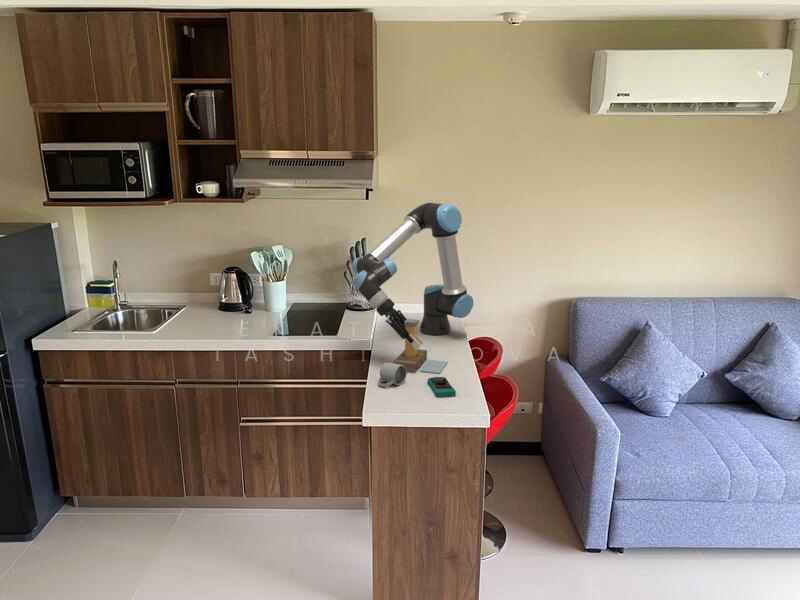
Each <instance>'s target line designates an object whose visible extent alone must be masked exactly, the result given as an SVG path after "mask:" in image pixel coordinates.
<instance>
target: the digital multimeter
mask: <svg viewBox="0 0 800 600" xmlns="http://www.w3.org/2000/svg"><path fill="white" fill-rule="evenodd" d="M427 384H428V386H429V387H430V389H431V391H432V392H433V394H434V396H435V397H436V398H451V397H452V396H453V397H456V393H457V392H456V389H455V388H454V387H453V386H452V385H451V384H450V382H449V380H448V379H447V378H446V377H445V376H433V377H429V378H427Z"/></svg>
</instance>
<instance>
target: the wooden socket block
mask: <svg viewBox="0 0 800 600" xmlns="http://www.w3.org/2000/svg"><path fill="white" fill-rule="evenodd" d="M427 360H428V350H427V349H419V348H418V349H417V357H416V358H410V357H405V349H404V350H403V351H402V352H401V353H400V354H399V355H398V356H397V357H396V358H395V359H393V364H399V365H404V366H405V368H406V372H407V373H410V374H416V373H417V371H419V369H420V368H422V367H423V364H424V363H425V362H427Z"/></svg>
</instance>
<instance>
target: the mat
mask: <svg viewBox="0 0 800 600" xmlns="http://www.w3.org/2000/svg"><path fill="white" fill-rule="evenodd" d="M427 360H428V359H427ZM448 362H449V361H444V360H436V359H435V360H434V359H429V360H428V361H426V363H425V364H424V365H422V367H421V369H420V370H419V372H421V373H427V374H435V375H440V374H441V373H442V372H443V370H444V369H445V368H446V366H447V365H448Z"/></svg>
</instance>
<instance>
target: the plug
mask: <svg viewBox="0 0 800 600" xmlns="http://www.w3.org/2000/svg"><path fill="white" fill-rule="evenodd" d="M406 319H407V320H406V321H404V326H405V329H406V330H407V332H408V333H409V334H411V335H412V336H413V337H414V338H415V339H416V340H417V335H418V325H419V323H420V322H419V321H420V320H419V319H415V318H414V319H413V318H406ZM404 350H405V357H410V358H416V357H417V350H415V348H414V347H413V346H412V345H411V344H410V343H409V342H408V341H407V339H406V338H405V339H404Z"/></svg>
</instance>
